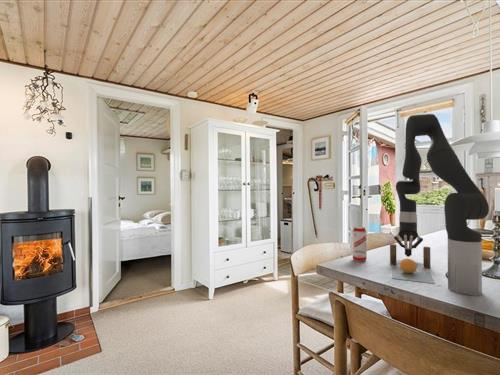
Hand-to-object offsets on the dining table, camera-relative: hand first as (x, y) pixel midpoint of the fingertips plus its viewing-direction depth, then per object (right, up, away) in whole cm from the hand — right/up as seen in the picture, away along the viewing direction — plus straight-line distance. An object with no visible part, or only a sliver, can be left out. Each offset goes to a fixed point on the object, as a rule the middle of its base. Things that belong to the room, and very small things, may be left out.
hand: (408, 256), depth 136 cm
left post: (-12, -2, -9) cm, 15 cm away
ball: (-13, +1, -22) cm, 26 cm away
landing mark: (-13, -2, -26) cm, 29 cm away
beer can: (-25, -2, -2) cm, 25 cm away
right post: (0, -2, -15) cm, 15 cm away
